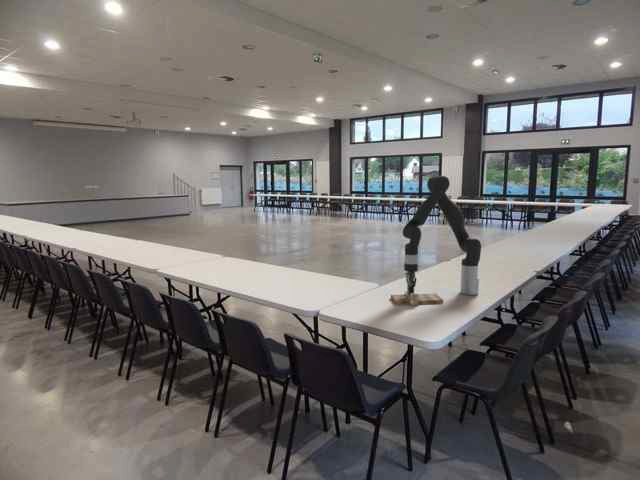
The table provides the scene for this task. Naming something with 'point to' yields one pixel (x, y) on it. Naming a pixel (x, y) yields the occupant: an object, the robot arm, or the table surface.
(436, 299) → the board
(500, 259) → the table surface
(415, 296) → the cream flanged bar
